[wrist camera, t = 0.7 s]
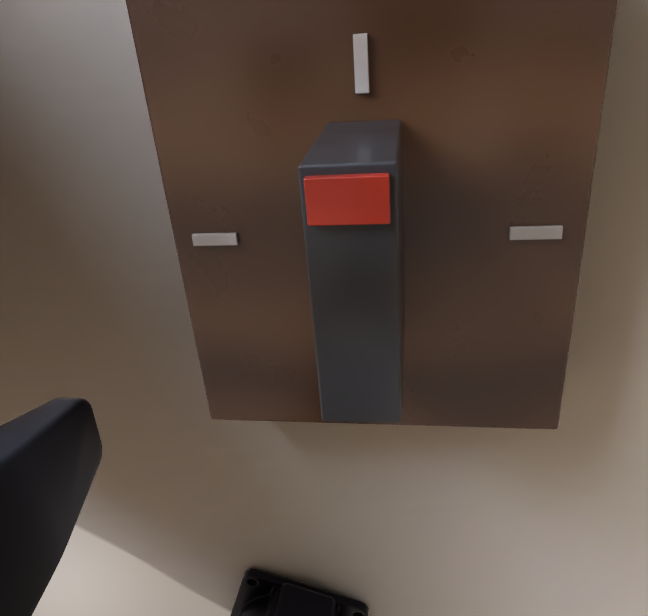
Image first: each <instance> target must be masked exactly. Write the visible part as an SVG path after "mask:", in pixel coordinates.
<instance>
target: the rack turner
mask: <svg viewBox="0 0 648 616" xmlns="http://www.w3.org/2000/svg"><path fill="white" fill-rule="evenodd" d="M298 175H299V186H300V196H301V207H302V217H303V228H304V238H305V249H306V259H307V269H308V280H309V290H310V301H311V311H312V322H313V332H314V343H315V353H316V364H317V374H318V385H319V395H320V406H321V416H322V420H323V421H339V422H374V423H400V422H401V419H402V389H403V360H404V253H403V171H402V121H401V120H400V119H396V120H377V121H357V122H338V123H328V124H327V125H326V126H325V128H324V129H323V131H322V132H321V134H320V135H319V137H318V138H317V139H316V141H315V142H314V144H313V145H312V147H311V148H310V150H309V151H308V153H307V154H306V156H305V157H304V159H303V160H302V162H301V163H300V165H299V166H298Z"/></svg>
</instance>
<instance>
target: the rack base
mask: <svg viewBox="0 0 648 616" xmlns="http://www.w3.org/2000/svg"><path fill="white" fill-rule="evenodd" d="M617 3H618V0H126V4H127V9H128V14H129V19H130V23H131V28H132V33H133V38H134V43H135V48H136V53H137V58H138V62H139V67H140V72H141V77H142V82H143V87H144V92H145V97H146V102H147V106H148V111H149V116H150V121H151V126H152V131H153V136H154V141H155V145H156V150H157V155H158V160H159V165H160V170H161V175H162V180H163V184H164V189H165V194H166V199H167V204H168V209H169V214H170V219H171V223H172V228H173V233H174V238H175V243H176V248H177V253H178V258H179V263H180V267H181V272H182V277H183V282H184V287H185V292H186V297H187V302H188V306H189V311H190V316H191V321H192V326H193V331H194V336H195V341H196V345H197V350H198V355H199V360H200V365H201V370H202V375H203V380H204V384H205V389H206V394H207V399H208V404H209V409H210V414H211V418H212V419H221V420H255V421H289V422H323V423H357V424H391V425H425V426H459V427H493V428H527V429H558V423H559V416H560V409H561V402H562V395H563V388H564V381H565V373H566V366H567V359H568V352H569V345H570V338H571V331H572V324H573V316H574V309H575V302H576V295H577V288H578V281H579V274H580V266H581V259H582V252H583V245H584V238H585V231H586V224H587V217H588V209H589V202H590V195H591V188H592V181H593V174H594V167H595V160H596V152H597V145H598V138H599V131H600V124H601V117H602V110H603V102H604V95H605V88H606V81H607V74H608V67H609V60H610V53H611V45H612V38H613V31H614V24H615V17H616V10H617ZM396 119H400V120H401V121H402V171H403V253H404V360H403V389H402V419H401V422H400V423H374V422H339V421H323V420H322V416H321V406H320V395H319V385H318V374H317V364H316V353H315V343H314V332H313V322H312V311H311V301H310V290H309V280H308V269H307V259H306V249H305V238H304V228H303V217H302V207H301V196H300V186H299V175H298V166H299V165H300V163H301V162H302V160H303V159H304V157H305V156H306V154H307V153H308V151H309V150H310V148H311V147H312V145H313V144H314V142H315V141H316V139H317V138H318V137H319V135H320V134H321V132H322V131H323V129H324V128H325V126H326V125H327V124H328V123H338V122H357V121H377V120H396Z"/></svg>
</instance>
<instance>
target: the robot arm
mask: <svg viewBox="0 0 648 616" xmlns="http://www.w3.org/2000/svg"><path fill="white" fill-rule="evenodd" d="M101 456H102V443H101V439H100V435H99V432H98V428H97V425H96V421H95V418H94V414H93V410H92V407H91V405H90V404H89V402H88V401H87V400H84V399H80V398H56V399H54V400H52V401H50V402H48V403H46V404H44V405H42V406H40V407H38V408H36V409H34V410H32V411H30V412H28V413H26V414H24V415H22V416H20V417H18V418H16V419H14V420H12V421H10V422H8V423H6V424H4V425H2V426H0V616H32V614H33V612H34V610H35V608H36V606H37V604H38V602H39V600H40V598H41V596H42V595H43V592H44V591H45V589H46V587H47V585H48V583H49V581H50V579H51V577H52V575H53V573H54V571H55V569H56V567H57V565H58V563H59V561H60V559H61V557H62V555H63V552H64V550H65V548H66V546H67V543H68V541H69V538H70V536H71V533H72V531H73V528H74V526H75V523H76V521H77V518H78V516H79V513H80V511H81V508H82V506H83V503H84V501H85V499H86V496H87V494H88V491H89V489H90V486H91V484H92V481H93V479H94V476H95V474H96V471H97V469H98V466H99V464H100V461H101ZM368 609H369V608H368V606H367V605H366V604H365V603H362V602H359V601H356V600H353V599H350V598H347V597H343V596H340V595H337V594H334V593H330V592H327V591H324V590H321V589H317V588H314V587H311V586H308V585H305V584H301V583H298V582H295V581H292V580H288V579H285V578H282V577H279V576H275V575H272V574H269V573H266V572H262V571H259V570H256V569H249V570H247V571H246V572H245V574H244V577H243V580H242V583H241V586H240V589H239V592H238V595H237V598H236V601H235V604H234V607H233V610H232V613H231V616H368Z"/></svg>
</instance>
